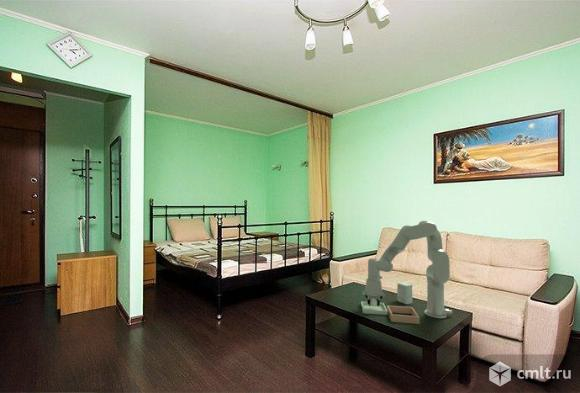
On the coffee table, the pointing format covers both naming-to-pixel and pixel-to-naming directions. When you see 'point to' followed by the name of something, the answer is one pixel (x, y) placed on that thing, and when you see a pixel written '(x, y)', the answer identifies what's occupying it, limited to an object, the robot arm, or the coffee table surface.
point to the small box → (404, 293)
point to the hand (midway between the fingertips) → (373, 305)
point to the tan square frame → (403, 318)
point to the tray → (374, 309)
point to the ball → (373, 302)
